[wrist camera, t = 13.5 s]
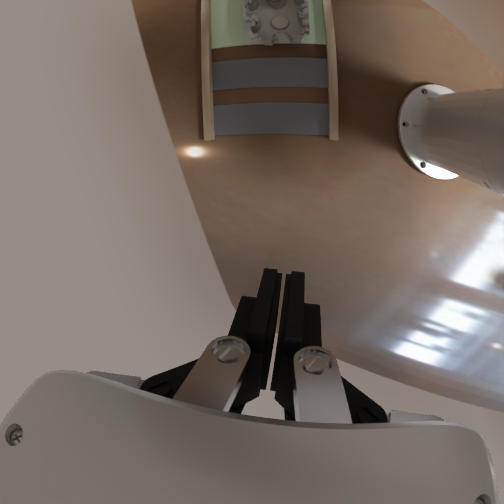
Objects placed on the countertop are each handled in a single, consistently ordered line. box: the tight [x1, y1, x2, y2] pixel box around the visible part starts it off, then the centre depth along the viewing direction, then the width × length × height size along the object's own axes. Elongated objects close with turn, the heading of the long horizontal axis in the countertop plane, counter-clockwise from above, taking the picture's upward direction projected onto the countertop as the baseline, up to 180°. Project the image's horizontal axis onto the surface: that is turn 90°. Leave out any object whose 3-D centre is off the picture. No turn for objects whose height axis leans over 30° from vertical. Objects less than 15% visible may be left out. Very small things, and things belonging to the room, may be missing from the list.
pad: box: [211, 0, 326, 49], centre depth 23 cm, size 14×12×1 cm
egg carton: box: [242, 0, 310, 46], centre depth 22 cm, size 11×8×4 cm
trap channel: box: [201, 0, 338, 141], centre depth 25 cm, size 16×25×2 cm, turn 2°
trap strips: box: [212, 57, 329, 136], centre depth 29 cm, size 14×10×1 cm
